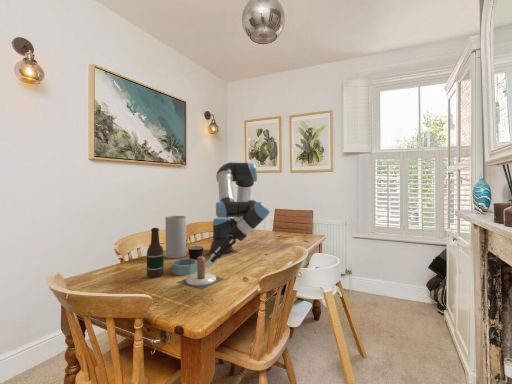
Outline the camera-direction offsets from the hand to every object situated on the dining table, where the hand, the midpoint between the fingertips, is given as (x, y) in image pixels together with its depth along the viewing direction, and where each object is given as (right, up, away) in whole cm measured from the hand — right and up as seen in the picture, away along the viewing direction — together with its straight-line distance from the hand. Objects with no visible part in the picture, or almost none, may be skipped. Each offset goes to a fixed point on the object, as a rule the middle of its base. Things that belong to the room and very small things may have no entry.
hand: (209, 261), depth 127 cm
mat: (-4, -10, +1) cm, 11 cm away
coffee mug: (-12, -9, +29) cm, 32 cm away
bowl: (-15, -9, +15) cm, 24 cm away
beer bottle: (-28, -9, +8) cm, 31 cm away
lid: (-4, -9, +1) cm, 10 cm away
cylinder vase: (-29, -8, +46) cm, 56 cm away
